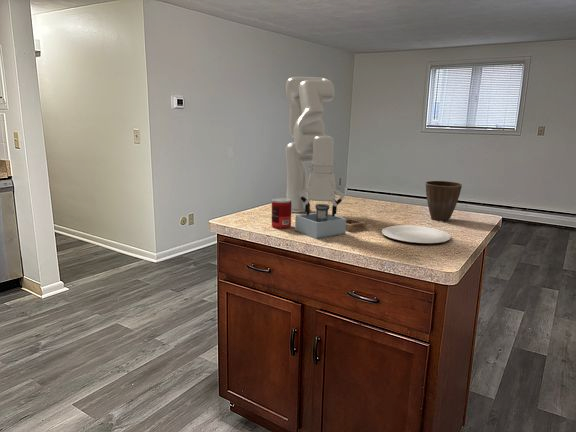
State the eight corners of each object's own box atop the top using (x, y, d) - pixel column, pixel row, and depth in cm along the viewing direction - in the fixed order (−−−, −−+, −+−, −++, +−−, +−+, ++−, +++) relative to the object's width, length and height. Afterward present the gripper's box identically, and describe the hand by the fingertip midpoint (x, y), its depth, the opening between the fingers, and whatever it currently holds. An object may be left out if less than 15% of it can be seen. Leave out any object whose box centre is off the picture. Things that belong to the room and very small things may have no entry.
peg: (313, 232, 167) (314, 206, 165) (315, 228, 172) (316, 203, 170) (327, 233, 166) (328, 207, 164) (328, 229, 171) (330, 204, 169)
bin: (295, 230, 171) (295, 215, 170) (323, 226, 178) (323, 211, 177) (316, 239, 160) (316, 222, 159) (345, 234, 167) (346, 218, 166)
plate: (399, 225, 184) (399, 221, 183) (460, 237, 168) (460, 232, 168) (369, 237, 165) (369, 233, 164) (434, 251, 149) (435, 246, 149)
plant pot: (458, 224, 186) (462, 187, 182) (421, 221, 190) (424, 184, 187) (457, 217, 200) (461, 182, 196) (423, 214, 204) (426, 180, 201)
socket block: (334, 226, 179) (334, 220, 178) (351, 224, 183) (351, 218, 183) (348, 231, 171) (349, 225, 171) (366, 228, 176) (366, 222, 175)
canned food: (293, 225, 180) (294, 198, 177) (287, 229, 172) (287, 202, 170) (275, 223, 182) (276, 197, 180) (268, 227, 175) (268, 200, 172)
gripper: (297, 170, 162) (296, 215, 166) (345, 172, 159) (342, 218, 162) (301, 167, 169) (299, 211, 173) (346, 169, 166) (344, 214, 170)
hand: (320, 215), depth 168 cm, fingers open, 9 cm apart
